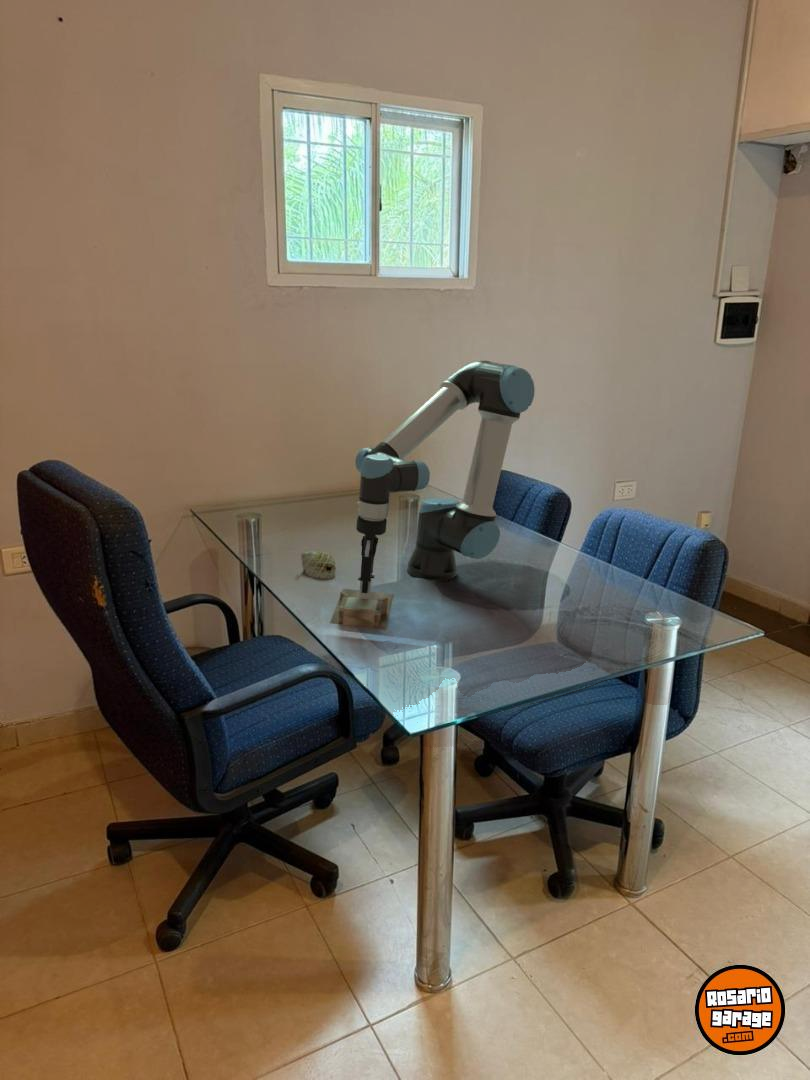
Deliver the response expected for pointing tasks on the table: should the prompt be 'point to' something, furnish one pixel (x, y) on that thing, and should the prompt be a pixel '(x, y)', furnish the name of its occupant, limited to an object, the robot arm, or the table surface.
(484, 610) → the table surface
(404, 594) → the table surface
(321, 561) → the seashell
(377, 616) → the dock
